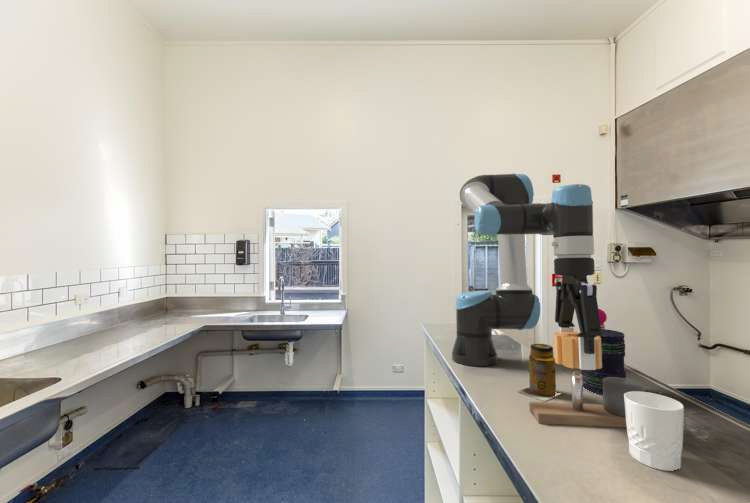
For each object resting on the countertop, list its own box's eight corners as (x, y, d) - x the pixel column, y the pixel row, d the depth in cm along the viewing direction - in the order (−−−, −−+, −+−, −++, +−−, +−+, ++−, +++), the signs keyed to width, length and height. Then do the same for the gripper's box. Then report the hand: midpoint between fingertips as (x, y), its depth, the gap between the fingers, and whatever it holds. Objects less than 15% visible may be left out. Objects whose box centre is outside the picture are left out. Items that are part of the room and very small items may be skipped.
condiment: (563, 394, 86) (562, 346, 86) (544, 402, 81) (543, 351, 81) (536, 385, 92) (535, 341, 92) (517, 392, 87) (516, 345, 88)
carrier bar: (529, 410, 76) (529, 401, 76) (635, 415, 73) (635, 406, 74) (538, 423, 70) (538, 413, 70) (654, 429, 68) (654, 418, 68)
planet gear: (589, 358, 76) (588, 331, 76) (610, 370, 67) (609, 340, 68) (548, 357, 77) (548, 331, 77) (564, 369, 69) (563, 339, 69)
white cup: (614, 448, 61) (612, 392, 61) (654, 445, 62) (653, 390, 62) (654, 475, 53) (651, 411, 53) (699, 472, 54) (697, 408, 54)
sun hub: (597, 403, 75) (596, 376, 75) (631, 405, 74) (630, 377, 74) (615, 418, 68) (614, 388, 68) (653, 419, 67) (652, 389, 67)
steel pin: (570, 407, 73) (569, 369, 74) (580, 407, 73) (579, 370, 73) (574, 411, 71) (573, 372, 72) (585, 411, 71) (584, 373, 71)
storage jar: (608, 399, 82) (606, 337, 82) (572, 385, 91) (570, 330, 92) (636, 393, 85) (634, 334, 86) (599, 381, 94) (597, 327, 95)
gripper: (538, 258, 84) (540, 349, 83) (577, 256, 63) (581, 378, 62) (570, 257, 83) (573, 350, 82) (621, 255, 62) (626, 380, 61)
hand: (576, 362), depth 72 cm, fingers closed on planet gear, 9 cm apart
